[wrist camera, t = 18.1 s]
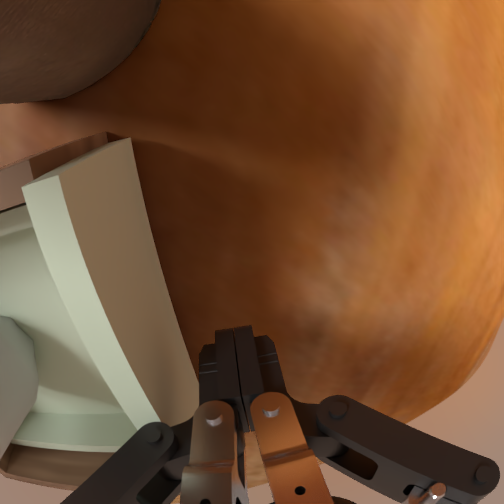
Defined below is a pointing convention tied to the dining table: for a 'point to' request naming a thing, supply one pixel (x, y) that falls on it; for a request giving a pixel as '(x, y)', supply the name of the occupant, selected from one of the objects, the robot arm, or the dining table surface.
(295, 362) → the dining table surface
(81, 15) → the pillar candle
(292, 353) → the dining table surface
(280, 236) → the dining table surface
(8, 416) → the salt shaker
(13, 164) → the cabinet
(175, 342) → the drawer
